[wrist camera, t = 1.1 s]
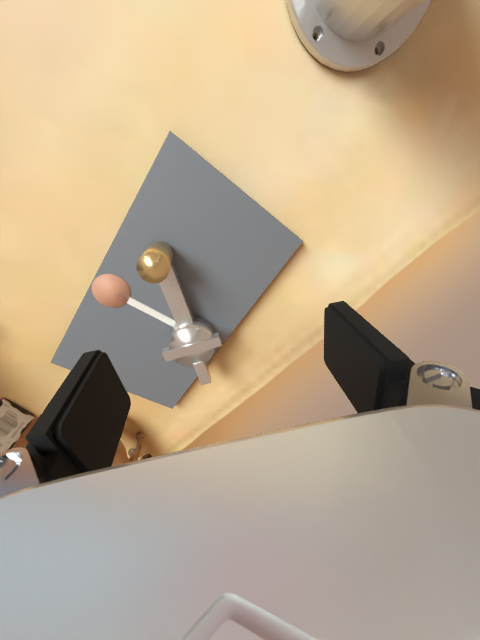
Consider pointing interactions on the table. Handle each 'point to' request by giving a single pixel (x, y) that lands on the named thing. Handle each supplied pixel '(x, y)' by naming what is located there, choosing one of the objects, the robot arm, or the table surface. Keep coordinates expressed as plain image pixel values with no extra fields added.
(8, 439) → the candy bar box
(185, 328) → the crank handle
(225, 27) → the table surface
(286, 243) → the base plate
